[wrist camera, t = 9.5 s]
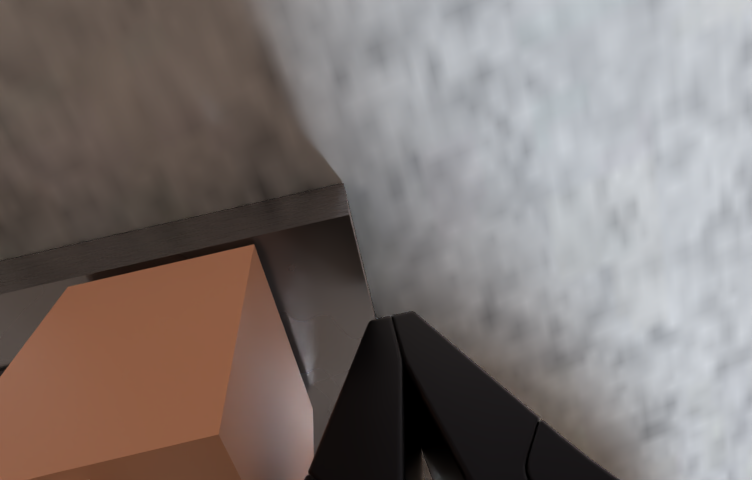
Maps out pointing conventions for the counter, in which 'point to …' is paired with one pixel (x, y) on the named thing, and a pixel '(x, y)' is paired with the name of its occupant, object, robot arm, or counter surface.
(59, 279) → the mixer panel
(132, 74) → the counter surface
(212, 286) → the fader
